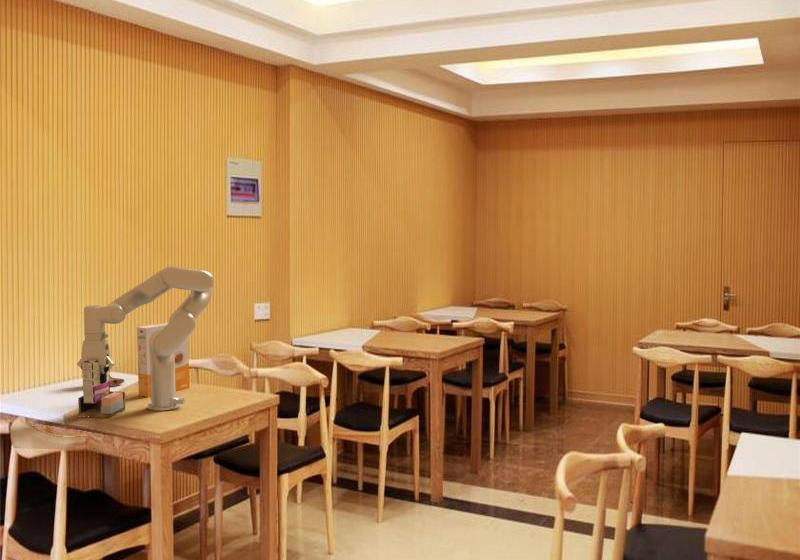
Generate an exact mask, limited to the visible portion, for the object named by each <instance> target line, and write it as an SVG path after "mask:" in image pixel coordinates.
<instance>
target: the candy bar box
mask: <svg viewBox="0 0 800 560" xmlns="http://www.w3.org/2000/svg"><path fill="white" fill-rule="evenodd" d="M108 365H109V364H107V365H106V366H108ZM81 371H82V392H83V393H82V394H83V395H82V396H84V403H92V404H95V403H97V402H100V401H101V398H103V397H105V396H107V395H109V394H110V391H111V386H110V379H109V371H108V372H107V381H106V383H104V384H101V383H100V374H102V372H101V369H100V366H99V365H98V361H97V360H86V361H83V362H82V369H81Z"/></svg>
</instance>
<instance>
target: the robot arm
mask: <svg viewBox="0 0 800 560" xmlns="http://www.w3.org/2000/svg"><path fill="white" fill-rule="evenodd" d="M214 284H215V279H214V276H213V274H212V273H210V272H209V271H207V270H205V269H191V268H184V267H180V266H177V265H168V266H165V267H163V268H161V270H159V271H157V272H156V273H154V274H153V275H151V276H150V277H148V278H147V279H145V280H144V281H143V282H141V283H139V284H138V285H136V286H135V287H133V288H131V289H130V290H129V291H127V292H125V293H124V294H121V295H120V296H119V297H117V298H116V299H114V300H112V301H111V302H110V303H107V305H105V306H103V305H102V304H101V305H100V304H90V305H86V306H84V308H83V328H84V330H83V331H84V340H83V341H82V345H81V356H80V357H81V358H80V359H79V360H78V362H77V363H76V365H77V366H78V367H79V368H80V369H81V370H82V362H83V361H86V360H97V361H98V365H99V366H100V369H101V372H102V374H100V383H101V384H104V383H106V381H107V372H108V371H109V370H111V369H112V368H113V367H114V366H115V362H114V361H113V360H112V359H111V350H110V345H109V340H108V339H107V338H109V334H108V333H106V324H111V325H116V324H121V323H122V322H124V320H125V319H126V317H127V315H128V314H130V313H131V312H133V311H134V310H136V309H137V308H139V307H142V306H144V305H148V304H150V303H152V302H154V301H155V300H157V299H158V298H160V297H161V296H163V295H165V294H166V293H167V292H169V291H170V290H172V289H178V290H183V291H184V290H185V291H190V292H189V294H188V296H187V297H186V299H184V301H183V302H182V303H181V304H180V305H179V306H178V307H177V309H176V310H174V312H172V314H170V316H169V318H168V322H167V323H168V324H167V325H166V326H165V327H164V329H161V330H157V331H155V332H154V333H152V335H151V336H150V339H149V352H150V375H151V397H150V399H151V400H150V402H151V403H149V404H148V405H147V406H146V407H147V409H148V410H150V411H156V412H157V411H159V412H163V411H164V412H165V411H170V410H171V411H172V410H175V409H178V408H179V407H181V405H184V404H186V399H185V398H183V397H181V398H179V394H177V393H176V392H177V391H176V388H175V356H174V352H175V351H176V350H177V349H178V348H179V347H180V346H181V345H182V344H183V342H184V341H185V340H186V339H187V338H188V339H189V337H190V336H191V334H193V331H194V330H195V328H196V324H197V323H196V321H197V319H199V317H200V315H202V313H203V312H204V311H205V309H207V307H209V304H210V302H211V299H212V293H213V286H214ZM107 364H109V365H108V366H106V365H107Z"/></svg>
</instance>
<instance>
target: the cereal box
mask: <svg viewBox="0 0 800 560" xmlns="http://www.w3.org/2000/svg"><path fill="white" fill-rule="evenodd" d="M168 323H169V322H166V323H164V322H163V323H158V324H150V325H144V326H136V343H137V348H136V349H137V370H138V371H137V376H138V377H137V379H138V383H137V384H138V396H139V395H140V396H139V397H142V396H145V397H144V398H148V397H149V398H151V375H150V352H149V339H150V336H151V335H152V333H154V332H155V331H157V330H161V329H164V327H165V326H166V325H167V324H168ZM189 355H190V354H189V337H188V338H187V339H186V340H185V341H184V342H183V344H182V345H181V346H180V347H179V348H178V349H177V350H176V351H175V352H174V356H175V388H176V392H179V391H183V390H187V389H190V361H189V360H190V359H189V358H190V357H189Z"/></svg>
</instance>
